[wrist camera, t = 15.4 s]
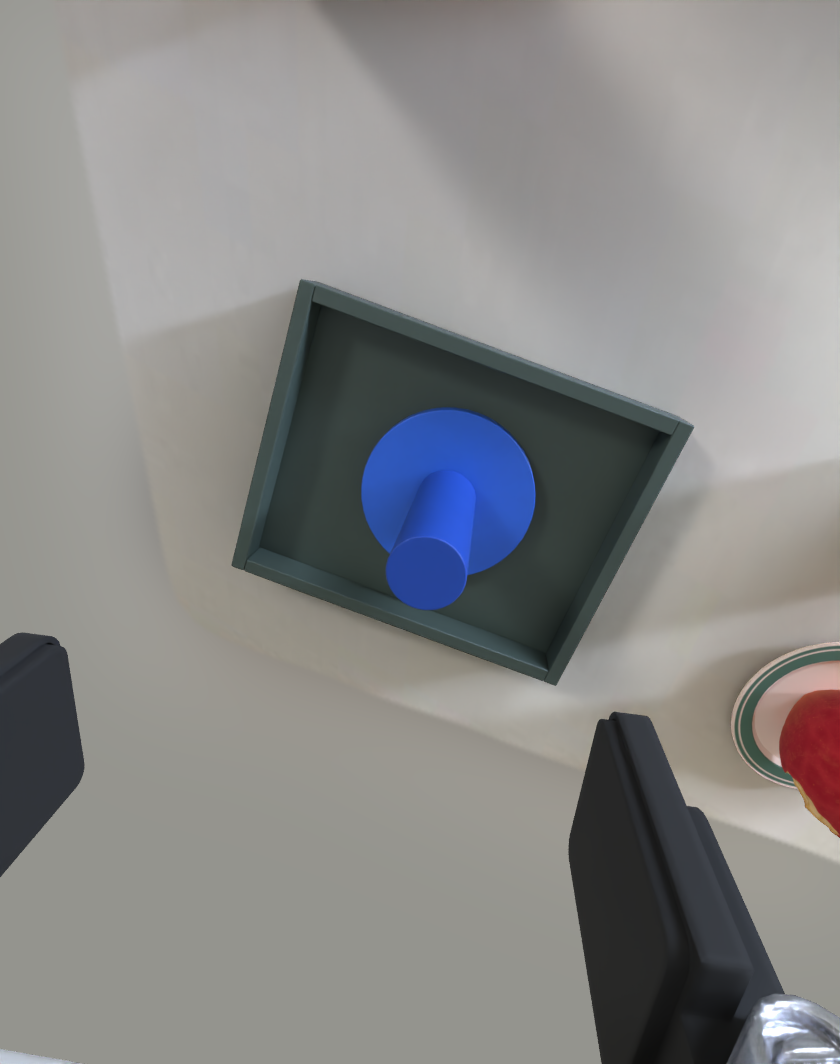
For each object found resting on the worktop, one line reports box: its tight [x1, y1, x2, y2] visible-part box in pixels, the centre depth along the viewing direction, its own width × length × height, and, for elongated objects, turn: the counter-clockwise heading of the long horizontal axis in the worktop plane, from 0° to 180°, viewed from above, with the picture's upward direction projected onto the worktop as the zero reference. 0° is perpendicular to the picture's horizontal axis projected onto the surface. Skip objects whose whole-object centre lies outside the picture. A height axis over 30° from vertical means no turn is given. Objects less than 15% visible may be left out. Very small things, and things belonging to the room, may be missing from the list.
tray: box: [232, 279, 694, 686], centre depth 24 cm, size 15×12×2 cm
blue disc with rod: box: [361, 407, 535, 610], centre depth 21 cm, size 7×7×8 cm
